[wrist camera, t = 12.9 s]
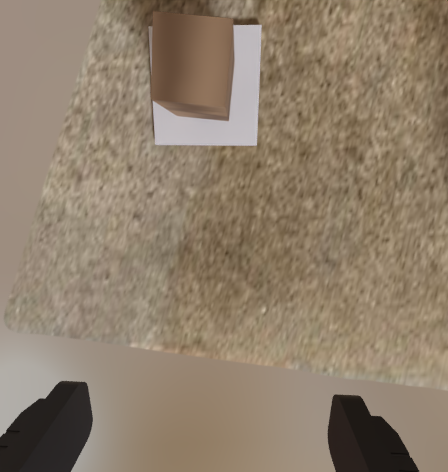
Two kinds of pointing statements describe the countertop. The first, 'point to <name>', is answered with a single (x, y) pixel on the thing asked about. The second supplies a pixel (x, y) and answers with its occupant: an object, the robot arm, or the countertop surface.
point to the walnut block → (192, 64)
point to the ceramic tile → (241, 109)
